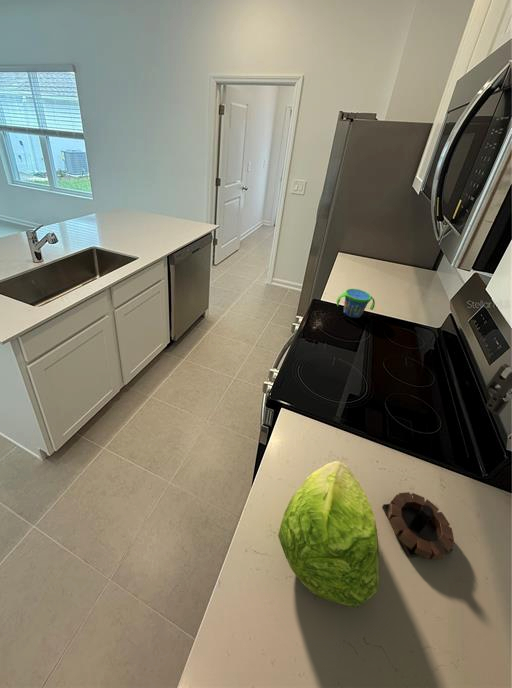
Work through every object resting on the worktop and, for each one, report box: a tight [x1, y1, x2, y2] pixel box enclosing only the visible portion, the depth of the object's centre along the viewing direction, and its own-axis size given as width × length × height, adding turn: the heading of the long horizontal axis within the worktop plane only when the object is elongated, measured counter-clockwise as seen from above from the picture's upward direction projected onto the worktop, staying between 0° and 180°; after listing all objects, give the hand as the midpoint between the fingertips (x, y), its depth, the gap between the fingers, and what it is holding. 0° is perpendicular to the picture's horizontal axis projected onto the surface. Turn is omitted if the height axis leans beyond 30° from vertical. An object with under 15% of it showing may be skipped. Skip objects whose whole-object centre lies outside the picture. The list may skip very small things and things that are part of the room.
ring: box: [387, 491, 455, 560], centre depth 62 cm, size 11×11×2 cm
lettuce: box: [277, 460, 380, 608], centre depth 58 cm, size 17×24×14 cm
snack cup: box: [336, 288, 376, 319], centre depth 134 cm, size 16×10×10 cm
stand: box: [381, 503, 454, 558], centre depth 61 cm, size 9×9×7 cm
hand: (511, 409), depth 58 cm, fingers open, 8 cm apart
